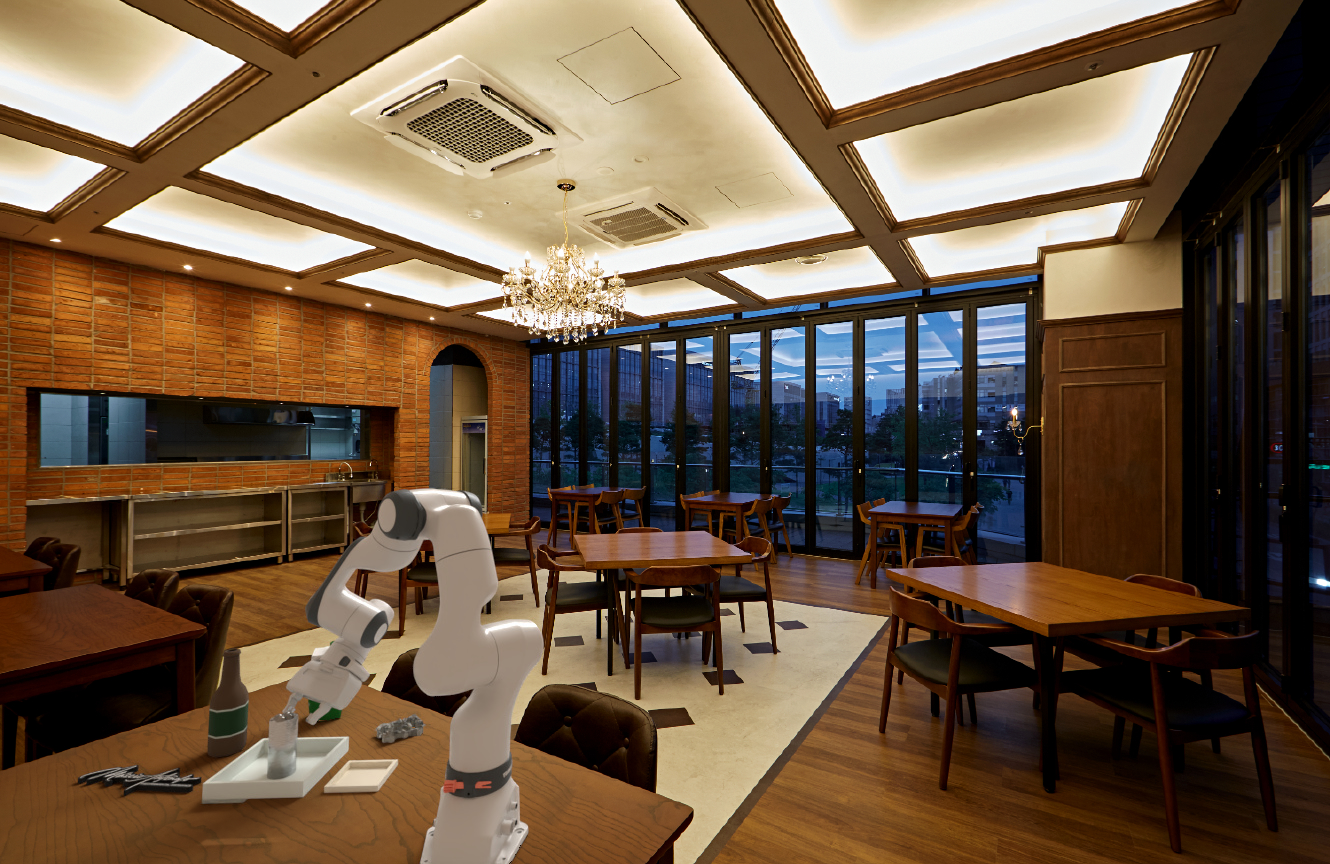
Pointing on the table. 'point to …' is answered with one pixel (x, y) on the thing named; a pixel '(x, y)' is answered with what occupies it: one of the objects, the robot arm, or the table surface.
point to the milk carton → (314, 705)
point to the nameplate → (142, 780)
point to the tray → (361, 776)
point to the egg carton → (400, 729)
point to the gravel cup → (282, 745)
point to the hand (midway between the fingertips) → (297, 718)
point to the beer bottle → (228, 710)
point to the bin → (252, 783)
